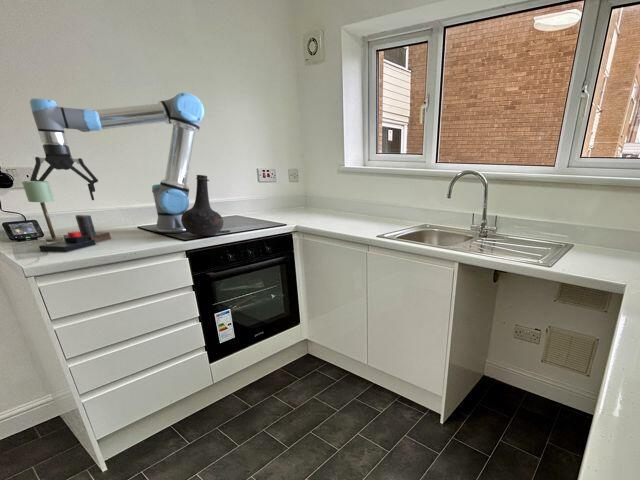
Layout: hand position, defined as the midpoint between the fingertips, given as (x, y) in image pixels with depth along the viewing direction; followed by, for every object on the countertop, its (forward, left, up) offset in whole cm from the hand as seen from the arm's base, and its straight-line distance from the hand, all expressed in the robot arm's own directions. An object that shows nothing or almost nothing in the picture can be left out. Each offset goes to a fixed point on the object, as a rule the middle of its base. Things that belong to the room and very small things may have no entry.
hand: (71, 200), depth 144 cm
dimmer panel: (+3, -5, -18) cm, 19 cm away
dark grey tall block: (+1, -4, -15) cm, 15 cm away
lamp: (-1, +14, -14) cm, 20 cm away
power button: (-1, +5, -14) cm, 15 cm away
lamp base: (-1, +9, -18) cm, 20 cm away
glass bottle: (-39, -23, -17) cm, 49 cm away
